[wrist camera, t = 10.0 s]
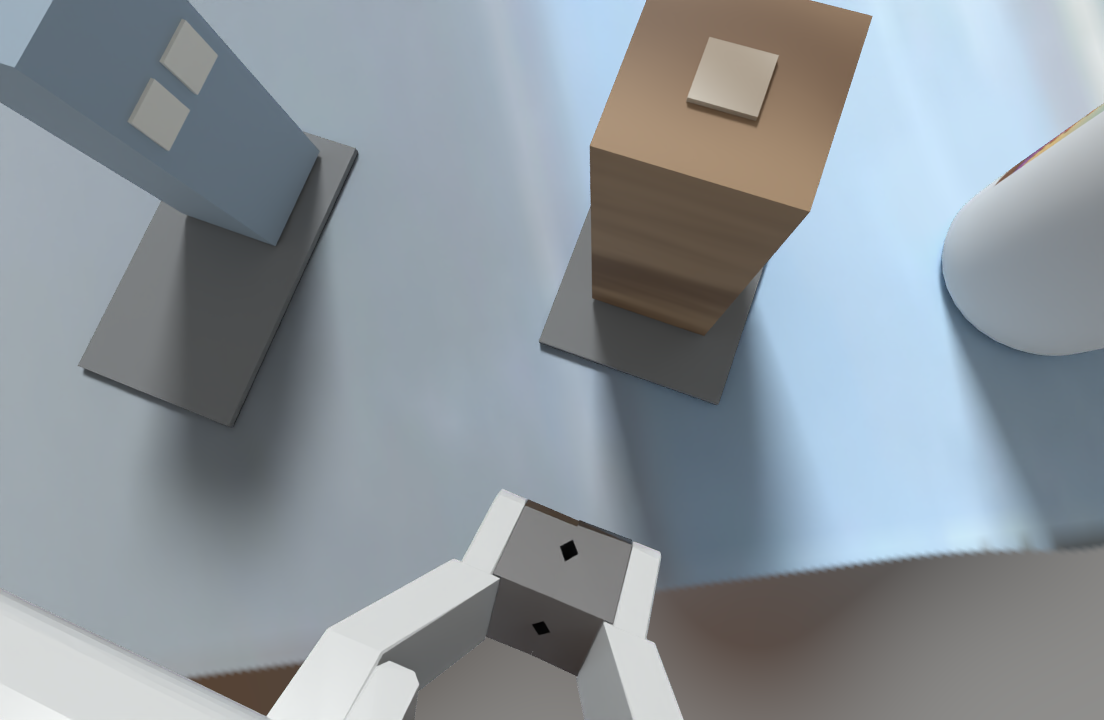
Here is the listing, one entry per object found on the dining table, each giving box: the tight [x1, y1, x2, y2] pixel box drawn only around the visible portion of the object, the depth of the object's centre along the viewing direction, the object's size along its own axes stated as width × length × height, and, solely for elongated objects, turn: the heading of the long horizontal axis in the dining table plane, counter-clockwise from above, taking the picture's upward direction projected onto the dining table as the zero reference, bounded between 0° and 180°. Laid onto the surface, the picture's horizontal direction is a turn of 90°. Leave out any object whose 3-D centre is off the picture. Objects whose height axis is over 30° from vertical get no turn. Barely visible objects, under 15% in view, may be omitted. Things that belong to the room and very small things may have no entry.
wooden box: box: [590, 0, 872, 336], centre depth 19 cm, size 5×5×12 cm
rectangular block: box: [0, 0, 320, 246], centre depth 21 cm, size 5×5×12 cm
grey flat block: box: [78, 131, 358, 427], centre depth 27 cm, size 14×8×1 cm, turn 159°
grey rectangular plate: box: [539, 206, 764, 405], centre depth 25 cm, size 14×8×1 cm, turn 159°
